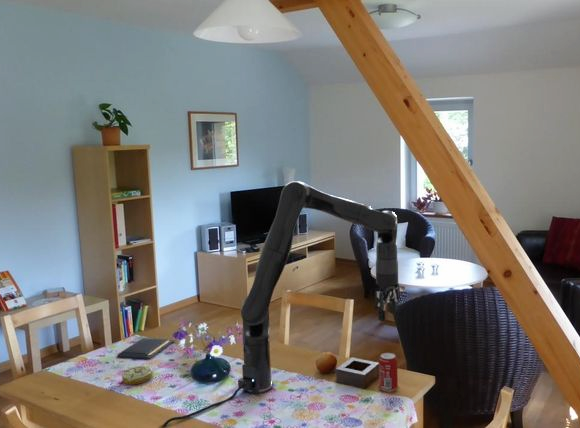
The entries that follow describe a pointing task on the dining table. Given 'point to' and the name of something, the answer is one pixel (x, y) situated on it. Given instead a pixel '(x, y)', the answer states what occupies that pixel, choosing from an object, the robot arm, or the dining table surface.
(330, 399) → the dining table surface
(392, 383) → the beverage can
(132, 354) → the dark grey book
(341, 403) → the dining table surface
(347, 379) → the can holder
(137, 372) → the decorated donut
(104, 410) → the dining table surface
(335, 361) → the fruit
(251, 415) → the dining table surface
